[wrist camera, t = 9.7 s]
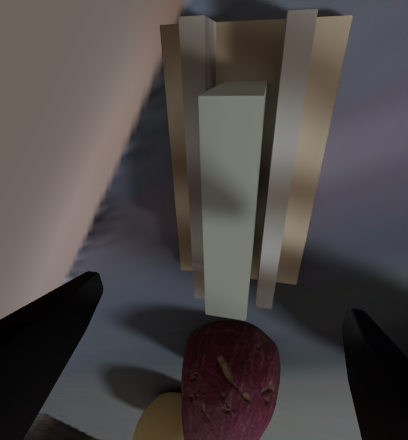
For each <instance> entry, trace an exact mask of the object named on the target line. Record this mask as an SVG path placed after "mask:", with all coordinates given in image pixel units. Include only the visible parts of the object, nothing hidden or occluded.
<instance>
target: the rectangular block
mask: <svg viewBox="0 0 408 440" xmlns="http://www.w3.org/2000/svg"><path fill="white" fill-rule="evenodd" d="M266 91H267V81H225V82H223V83H221V84H219V85H217V86H216V87H214V88H212V89H210V90H208V91H206V92H205V93H203V94H201V95H199V96H198V104H199V134H200V163H201V193H202V222H203V252H204V281H205V311H206V315H212V316H218V317H224V318H230V319H237V320H243V321H246V315H247V305H248V296H249V286H250V276H251V266H252V256H253V246H254V234H255V222H256V210H257V198H258V186H259V174H260V162H261V150H262V138H263V126H264V115H265V103H266Z"/></svg>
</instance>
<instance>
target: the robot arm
mask: <svg viewBox="0 0 408 440" xmlns="http://www.w3.org/2000/svg"><path fill="white" fill-rule="evenodd" d="M102 293H103V285H102V282H101V278H100V275H99V273H97V272H91V271H88V272H85V273H83V274H82V275H80V276H78V277H76V278H74V279H73V280H71V281H69V282H67V283H65V284H64V285H62V286H60V287H58V288H56V289H55V290H53V291H51V292H49V293H48V294H46V295H44V296H42V297H40V298H38V299H37V300H35V301H33V302H31V303H29V304H28V305H26V306H24V307H22V308H20V309H19V310H17V311H15V312H13V313H11V314H10V315H8V316H6V317H4V318H3V319H1V320H0V440H23V439H24V438H25V436H26V434H27V432H28V431H29V429H30V427H31V425H32V424H33V422H34V420H35V418H36V417H37V415H38V413H39V411H40V410H41V408H42V406H43V404H44V403H45V401H46V399H47V397H48V396H49V394H50V392H51V390H52V389H53V387H54V385H55V383H56V382H57V380H58V378H59V376H60V375H61V373H62V371H63V369H64V368H65V366H66V364H67V362H68V361H69V359H70V357H71V355H72V354H73V352H74V350H75V348H76V347H77V345H78V343H79V341H80V340H81V338H82V336H83V334H84V333H85V331H86V329H87V327H88V325H89V323H90V320H91V318H92V316H93V314H94V311H95V309H96V307H97V305H98V303H99V300H100V298H101V296H102ZM342 334H343V343H344V351H345V359H346V368H347V375H348V381H349V386H350V390H351V395H352V399H353V403H354V407H355V412H356V416H357V420H358V424H359V428H360V433H361V437H362V440H408V357H407V356H406V355H405V354H404V353H403V352H402V351H401V350H400V349H399V348H398V347H397V345H396V344H395V343H394V342H393V341H392V340H391V339H390V338H389V337H388V336H387V335H386V334H385V333H384V331H383V330H382V329H381V328H380V327H379V326H378V325H377V324H376V323H375V322H374V321H373V320H372V319H371V318H370V316H369V315H368V314H367V313H366V312H365V311H363V310H361V309H354V308H350V309H348V311H347V314H346V317H345V319H344V322H343V325H342Z"/></svg>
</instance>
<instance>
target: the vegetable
mask: <svg viewBox="0 0 408 440" xmlns="http://www.w3.org/2000/svg"><path fill="white" fill-rule="evenodd" d="M182 366H183V368H182V382H181V401H182V407H181V416H182V428H183V436H184V440H259V439H260V437H261V436H262V434H263V433H264V431H265V429H266V428H267V426H268V424H269V422H270V420H271V417H272V415H273V413H274V409H275V406H276V400H277V395H278V388H279V384H280V358H279V352H278V348H277V346H276V344H275V343H274V342H273V341H272V340H271V339H270V338H269V337H268V336H267V335H266V334H265V333H264V332H262V331H261V330H260V329H259V328H257V327H255V326H253V325H250V324H249V323H245V322H235V321H218V322H213V323H206V324H205V325H204V326H202V327H200V328H198V329H197V330H196V331H194V332H193V333H192V334H191V335H190V337H189V339H188V341H187V345H186V349H185V354H184V361H183V365H182Z"/></svg>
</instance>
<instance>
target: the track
mask: <svg viewBox="0 0 408 440" xmlns="http://www.w3.org/2000/svg"><path fill="white" fill-rule="evenodd" d="M317 14H318V9H307V10H289V11H288V12H287V15H286V18H285V19H269V20H250V21H230V22H215V21H213V20H211V19H210V18H208V17H206V16H205V15H200V16H182V17H178V18H179V24H171V25H160V33H161V44H162V56H163V68H164V79H165V91H166V103H167V114H168V126H169V137H170V149H171V160H172V172H173V184H174V195H175V207H176V218H177V230H178V242H179V253H180V265H181V270H187V271H193V282H194V298H200V299H205V281H204V252H203V222H202V193H201V163H200V134H199V104H198V96H199V95H201V94H203V93H205V92H206V91H208V90H210V89H212V88H214V87H216V86H217V85H219V84H221V83H223V82H225V81H267V91H266V103H265V115H264V126H263V138H262V150H261V162H260V174H259V186H258V198H257V210H256V222H255V234H254V246H253V256H252V266H251V276H250V279H256V280H257V292H256V306H255V307H259V308H266V309H272V303H273V297H274V291H275V284H276V282H278V283H286V284H294V285H296V284H297V279H298V275H299V270H300V265H301V260H302V256H303V251H304V246H305V241H306V236H307V232H308V227H309V222H310V217H311V213H312V208H313V203H314V198H315V194H316V189H317V184H318V179H319V174H320V170H321V165H322V160H323V155H324V151H325V146H326V141H327V136H328V132H329V127H330V122H331V117H332V112H333V108H334V103H335V98H336V93H337V89H338V84H339V79H340V74H341V70H342V65H343V60H344V55H345V50H346V46H347V41H348V36H349V31H350V27H351V22H352V17H353V15H348V16H328V17H317Z"/></svg>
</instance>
